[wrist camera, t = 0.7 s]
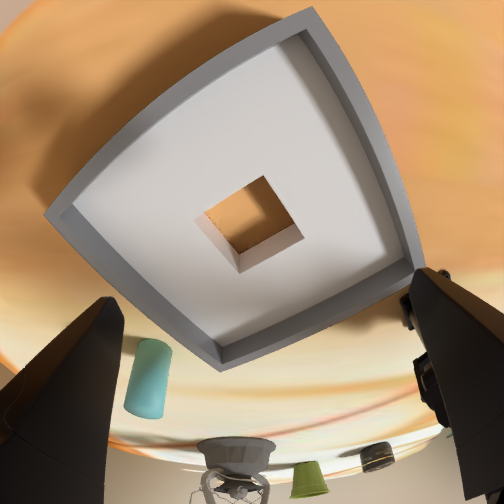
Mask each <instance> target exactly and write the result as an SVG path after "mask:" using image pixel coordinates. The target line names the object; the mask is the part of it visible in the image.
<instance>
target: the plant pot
mask: <svg viewBox="0 0 504 504" xmlns="http://www.w3.org/2000/svg"><path fill="white" fill-rule="evenodd" d="M329 492H330V491H329V490H328V488H327V485H326V484H325V482H324V478H323V476H322V473H321V470H320V467H319V464H318V462H316V461H314V462H313V461H310V462H307V463H299V464H296V465H295V466H294V475H293V488H292V492H291V497H290V499H297V498H306V497H313V496H318V495H322V494H326V493H329Z"/></svg>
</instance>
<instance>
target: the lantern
mask: <svg viewBox="0 0 504 504" xmlns="http://www.w3.org/2000/svg"><path fill="white" fill-rule="evenodd" d="M197 448H198V450H199V451H200V452H202V453H203V454H204V456H205V461H206V466H207V468H208V469H209V470H208V471H206V472H205V473H204V474H203V475H202V477H201V487H202V490H201V487H200V488H199V490H198V491H203V493H204V497H205V500H206V503H207V504H216V503H215V501H214V497H213V494H215V493H214V492H215V491H217V492H222V493H227V494H230V496H231V497H232V498H235V499H237V500H239V499H242V500H243V498H245V496H246V495H247V492H252V491H257V490H258V493H259V494H260V495H261V497H262V499H261V503H260V504H268V498H269V494H270V484H269V482H268V481H267V479H265V478H264V477H263V476H261V475H260V474H258V473H259V472H261V471H263V470H265V469H267V467H268V462H269V456H270V453H271V452H273V451H274V450H275V448H276V445H275V444H274V442H272V441H269V440H266V439H262V438H254V437H219V438H213V439H207V440H204V441H202V442H200V443H199V444H198V446H197ZM217 476H218V477H217ZM214 477H217V479H219V480H221V481H224V483H223V484H222V485H221V486H220V487H217V488H214V492H213V491H211V489H213V488H210V483H209V482H210V479H212V478H214ZM251 477H254V479H256V480H257V481H258V482H257V481H255V480H251ZM252 482H256V483H259V484H260V485H261V486H258V485H255V484H254V483H252ZM261 489H263V490H262V492H263V494H262V492H261V493H260V492H259V491H260V490H261ZM198 491H194V492H193V493H195V492H198ZM193 493H192V494H193ZM192 494H191V498H192ZM217 496H218V495H217ZM261 497H260V498H261ZM191 498H190V502H189V503H191ZM260 498H258V499H260ZM223 499H224V498H223ZM258 499H257V500H258ZM246 500H247V499H246ZM247 501H248V500H247ZM247 501H246V502H247ZM255 501H256V500H255ZM249 502H250V501H249ZM230 503H231V502H230ZM252 503H253V502H251V503H250V504H252ZM232 504H233V503H232ZM253 504H254V503H253Z"/></svg>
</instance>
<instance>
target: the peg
mask: <svg viewBox="0 0 504 504" xmlns="http://www.w3.org/2000/svg"><path fill="white" fill-rule="evenodd" d="M171 356H172V350H171V348H170V347H169V346H168V345H167V344H166V343H164V342H162V341H159V340H156V339H144V340H142V341H140V342H139V344H138V347H137V351H136V355H135V359H134V363H133V367H132V371H131V375H130V379H129V384H128V388H127V393H126V397H125V402H124V408H125V410H126V411H128V412H129V413H131V414H133V415H135V416H138V417H141V418H146V419H159V418H162V417H163V411H164V403H165V396H166V389H167V382H168V375H169V369H170V362H171Z"/></svg>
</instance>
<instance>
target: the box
mask: <svg viewBox="0 0 504 504" xmlns="http://www.w3.org/2000/svg"><path fill="white" fill-rule="evenodd" d="M262 175H264V177H265V178H266V180H267V181H268V183H269V184H270V186H271V187H272V189H273V190H274V192H275V193H276V195H277V196H278V198H279V199H280V201H281V202H282V204H283V205H284V207H285V208H286V210H287V211H288V213H289V214H290V216H291V217H292V219H293V220H294V222H295V223H294V224H292V225H290V226H289V227H287V228H285V229H283V230H282V231H280V232H278V233H276V234H275V235H273V236H271V237H269V238H268V239H266V240H264V241H262V242H260V243H259V244H257V245H255V246H253V247H252V248H250V249H248V250H246V251H245V252H243V253H241V254H238V253H237V251H236V250H235V249H234V248H233V247H232V246H231V244H230V243H229V242H228V241H227V240H226V238H225V237H224V236H223V235H222V233H221V232H220V231H219V230H218V229H217V227H216V226H215V225H214V224H213V223H212V221H211V220H210V219H209V218H208V217H207V215H206V214H205V213H204V212H205V211H207V210H209V209H210V208H212V207H213V206H215V205H216V204H218V203H219V202H221V201H222V200H224V199H226V198H227V197H229V196H230V195H232V194H233V193H235V192H237V191H238V190H240V189H241V188H243V187H245V186H246V185H248V184H249V183H251V182H253V181H254V180H256V179H258V178H259V177H261V176H262ZM44 216H45V217H46V219H47V220H48V221H49V222H50V223H51V224H52V225H53V227H54V228H55V229H56V230H57V231H58V232H59V233H60V234H61V235H62V236H63V237H64V239H65V240H66V241H67V242H68V243H69V244H70V245H71V246H72V247H73V248H74V249H75V250H76V251H77V252H78V253H79V254H80V255H81V256H82V257H83V258H84V259H85V260H86V261H87V262H88V263H89V264H90V265H91V266H92V267H93V268H94V269H95V270H96V271H97V272H98V273H99V274H100V275H101V276H102V277H103V278H104V279H105V280H106V281H107V282H108V283H109V284H111V285H112V286H113V287H114V288H115V289H116V290H117V291H118V292H119V293H120V294H121V295H123V296H124V297H125V298H126V299H127V300H128V301H129V302H130V303H132V304H133V305H134V306H135V307H136V308H137V309H139V310H140V311H141V312H142V313H143V314H144V315H146V316H147V317H148V318H149V319H150V320H152V321H153V322H154V323H155V324H156V325H158V326H159V327H160V328H161V329H163V330H164V331H165V332H166V333H168V334H169V335H170V336H171V337H173V338H174V339H175V340H176V341H178V342H179V343H180V344H182V345H183V346H184V347H186V348H187V349H188V350H190V351H191V352H192V353H194V354H195V355H196V356H198V357H199V358H200V359H202V360H203V361H205V362H206V363H207V364H209V365H210V366H212V367H213V368H214V369H216V370H217V371H219V372H222V371H225V370H228V369H231V368H233V367H236V366H239V365H241V364H244V363H247V362H249V361H252V360H254V359H257V358H259V357H262V356H264V355H267V354H269V353H272V352H274V351H277V350H279V349H281V348H284V347H286V346H288V345H291V344H293V343H295V342H298V341H300V340H302V339H304V338H307V337H309V336H311V335H313V334H315V333H317V332H320V331H322V330H324V329H326V328H328V327H330V326H332V325H334V324H336V323H338V322H340V321H342V320H345V319H347V318H349V317H351V316H352V315H354V314H356V313H358V312H360V311H362V310H364V309H366V308H368V307H370V306H372V305H374V304H375V303H377V302H379V301H381V300H383V299H385V298H386V297H388V296H390V295H392V294H394V293H395V292H397V291H399V290H401V289H402V288H404V287H406V286H408V285H409V284H411V281H412V278H413V275H414V272H415V270H416V269H417V268H423V267H426V264H425V260H424V255H423V251H422V247H421V243H420V239H419V235H418V231H417V227H416V223H415V220H414V216H413V213H412V210H411V206H410V203H409V200H408V197H407V193H406V190H405V187H404V184H403V182H402V179H401V176H400V173H399V170H398V167H397V165H396V162H395V159H394V157H393V154H392V152H391V149H390V147H389V144H388V142H387V139H386V137H385V135H384V132H383V130H382V128H381V125H380V123H379V121H378V119H377V117H376V114H375V112H374V110H373V108H372V106H371V104H370V102H369V100H368V98H367V96H366V94H365V92H364V90H363V88H362V86H361V84H360V82H359V80H358V78H357V76H356V75H355V73H354V71H353V69H352V67H351V66H350V64H349V62H348V60H347V59H346V57H345V55H344V54H343V52H342V50H341V49H340V47H339V45H338V44H337V42H336V41H335V39H334V37H333V36H332V34H331V33H330V31H329V30H328V28H327V27H326V25H325V24H324V22H323V21H322V19H321V18H320V17H319V15H318V14H317V12H316V11H315V10H314V8H313V7H312V6H311V7H309V8H306V9H304V10H302V11H299V12H297V13H295V14H292V15H290V16H288V17H286V18H284V19H282V20H280V21H277V22H275V23H273V24H271V25H269V26H267V27H265V28H263V29H261V30H260V31H258V32H256V33H254V34H252V35H250V36H248V37H247V38H245V39H243V40H241V41H240V42H238V43H236V44H234V45H233V46H231V47H229V48H228V49H226V50H224V51H223V52H221V53H220V54H218V55H216V56H215V57H213V58H212V59H210V60H209V61H207V62H206V63H204V64H203V65H201V66H200V67H198V68H197V69H195V70H194V71H192V72H191V73H189V74H188V75H187V76H185V77H184V78H182V79H181V80H180V81H178V82H177V83H176V84H174V85H173V86H172V87H170V88H169V89H168V90H166V91H165V92H164V93H163V94H161V95H160V96H159V97H158V98H156V99H155V100H154V101H153V102H151V103H150V104H149V105H148V106H147V107H145V108H144V109H143V110H142V111H141V112H139V113H138V114H137V115H136V116H135V117H134V118H133V119H131V120H130V121H129V122H128V123H127V124H126V125H125V126H124V127H123V128H121V129H120V130H119V131H118V132H117V133H116V134H115V135H114V136H113V137H112V138H111V139H110V140H109V141H108V142H107V143H106V144H105V145H104V146H103V147H102V148H101V149H100V150H99V151H98V152H97V153H96V154H95V155H94V156H93V157H92V158H91V159H90V160H89V161H88V162H87V163H86V164H85V165H84V167H83V168H82V169H81V170H80V171H79V172H78V173H77V174H76V175H75V177H74V178H73V179H72V180H71V181H70V182H69V183H68V185H67V186H66V187H65V188H64V189H63V191H62V192H61V193H60V194H59V195H58V197H57V198H56V199H55V200H54V202H53V203H52V204H51V205H50V207H49V208H48V209H47V211H46V212H45V213H44Z"/></svg>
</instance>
